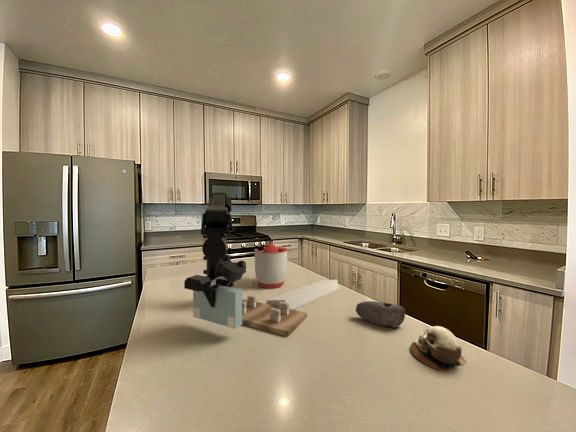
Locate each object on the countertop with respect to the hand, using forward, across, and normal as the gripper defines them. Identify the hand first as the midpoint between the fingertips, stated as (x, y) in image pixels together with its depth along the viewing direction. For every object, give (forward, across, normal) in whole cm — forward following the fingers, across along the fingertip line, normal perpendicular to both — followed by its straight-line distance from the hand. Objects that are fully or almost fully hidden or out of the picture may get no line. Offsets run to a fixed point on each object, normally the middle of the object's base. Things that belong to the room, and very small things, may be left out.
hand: (216, 305), depth 72 cm
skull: (+8, +16, -57) cm, 60 cm away
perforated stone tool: (+8, +28, -42) cm, 51 cm away
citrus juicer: (+8, +45, +9) cm, 47 cm away
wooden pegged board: (+8, +14, -7) cm, 18 cm away
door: (+4, 0, 0) cm, 4 cm away
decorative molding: (+9, +38, -12) cm, 41 cm away
